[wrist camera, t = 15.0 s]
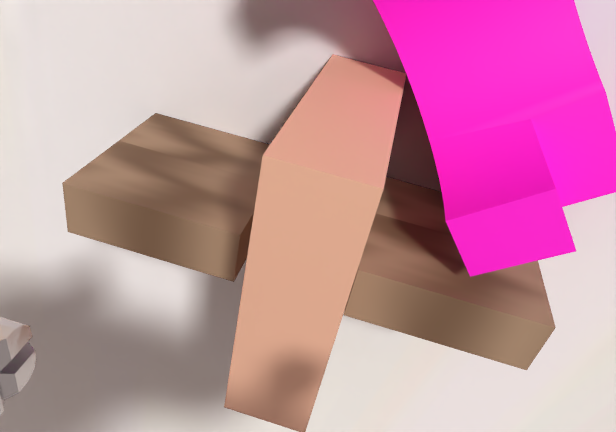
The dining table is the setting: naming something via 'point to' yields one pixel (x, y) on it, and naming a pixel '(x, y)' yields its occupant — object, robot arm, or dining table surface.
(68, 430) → the dining table surface
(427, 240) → the walnut rail
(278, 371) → the tan notched block
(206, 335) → the dining table surface
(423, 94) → the toy block
